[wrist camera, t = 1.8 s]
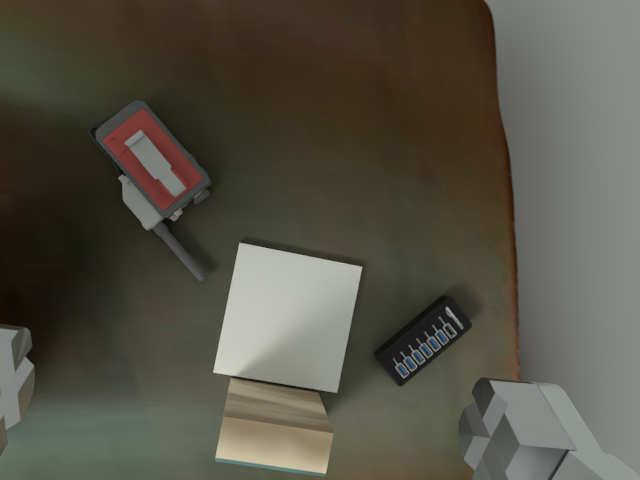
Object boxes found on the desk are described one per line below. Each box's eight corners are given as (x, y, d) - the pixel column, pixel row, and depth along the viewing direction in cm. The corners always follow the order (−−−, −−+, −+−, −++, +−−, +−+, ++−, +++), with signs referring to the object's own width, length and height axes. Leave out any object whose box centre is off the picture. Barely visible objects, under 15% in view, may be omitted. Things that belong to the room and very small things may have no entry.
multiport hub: (371, 353, 60) (376, 358, 57) (443, 293, 60) (450, 296, 58) (394, 382, 60) (399, 388, 58) (465, 322, 61) (473, 326, 59)
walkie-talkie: (75, 144, 55) (198, 285, 57) (60, 136, 51) (193, 290, 53) (140, 93, 56) (259, 234, 58) (130, 81, 52) (259, 234, 53)
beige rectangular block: (311, 426, 58) (325, 476, 47) (223, 413, 57) (214, 460, 45) (318, 392, 58) (333, 433, 47) (230, 377, 57) (223, 416, 45)
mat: (336, 391, 59) (337, 392, 58) (213, 370, 57) (213, 372, 56) (361, 266, 59) (362, 266, 58) (239, 242, 57) (239, 242, 56)
